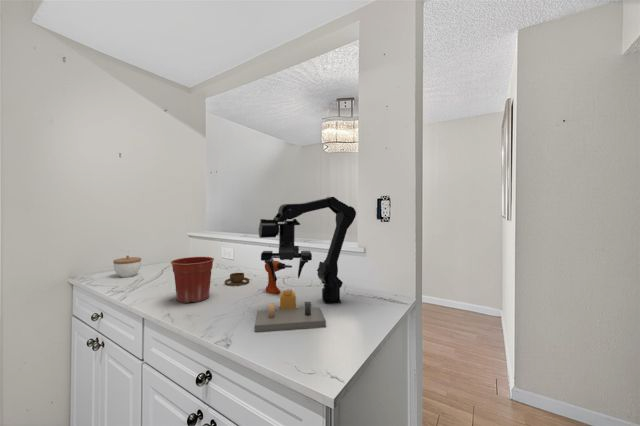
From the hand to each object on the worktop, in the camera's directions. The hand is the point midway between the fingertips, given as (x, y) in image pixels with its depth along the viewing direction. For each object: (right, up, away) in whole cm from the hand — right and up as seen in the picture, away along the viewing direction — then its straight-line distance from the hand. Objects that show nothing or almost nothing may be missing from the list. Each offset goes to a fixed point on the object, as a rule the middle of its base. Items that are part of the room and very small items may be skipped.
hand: (286, 278), depth 105 cm
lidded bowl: (-93, -10, +48) cm, 105 cm away
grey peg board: (+3, -11, -13) cm, 17 cm away
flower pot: (-40, -11, +10) cm, 43 cm away
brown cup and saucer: (-32, -11, +36) cm, 50 cm away
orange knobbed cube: (+1, -11, 0) cm, 11 cm away
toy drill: (-5, -11, +16) cm, 20 cm away
